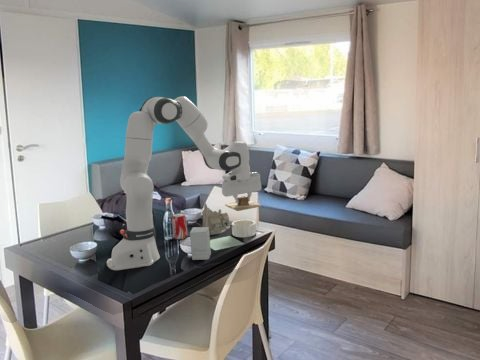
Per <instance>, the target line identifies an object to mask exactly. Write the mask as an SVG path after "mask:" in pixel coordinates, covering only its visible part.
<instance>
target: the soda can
mask: <svg viewBox="0 0 480 360" xmlns="http://www.w3.org/2000/svg"><path fill="white" fill-rule="evenodd" d="M187 223H188V221H187V217H186V214H185V213H183V212H180V213H174V214H173V215H172V218H171V225H172V227H171V228H172V235H173V236H172V237H173V239H175V240H185V239H186V238H187V237H188V224H187ZM184 238H185V239H184Z"/></svg>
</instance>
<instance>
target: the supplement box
mask: <svg viewBox="0 0 480 360" xmlns="http://www.w3.org/2000/svg"><path fill="white" fill-rule="evenodd" d="M210 236H211V235H209V227H199V226H198V227H197V226H196V227H192V228H191V230H190V232H189V240H190V251H191V252H190V253H191V259H192V261H195V260H197V261H199V260H205V261H206V260H209V259H210V257H211V254H212V250H211V249H212V248H210V240H211V239H210V238H211V237H210Z"/></svg>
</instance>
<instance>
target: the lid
mask: <svg viewBox="0 0 480 360" xmlns="http://www.w3.org/2000/svg"><path fill="white" fill-rule="evenodd" d="M237 199H239V200H240V203H238V204H237V203H236V201H235V202H230V203H225V204H224V205H225V207H227V208H230V209H232V210H235V211H237V212H239V211H245V210H251V209H256V208H260V207H262V204H261V203H258V202H255V201H253V200H250V201H248V197H247V196H238V197H237Z"/></svg>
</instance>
